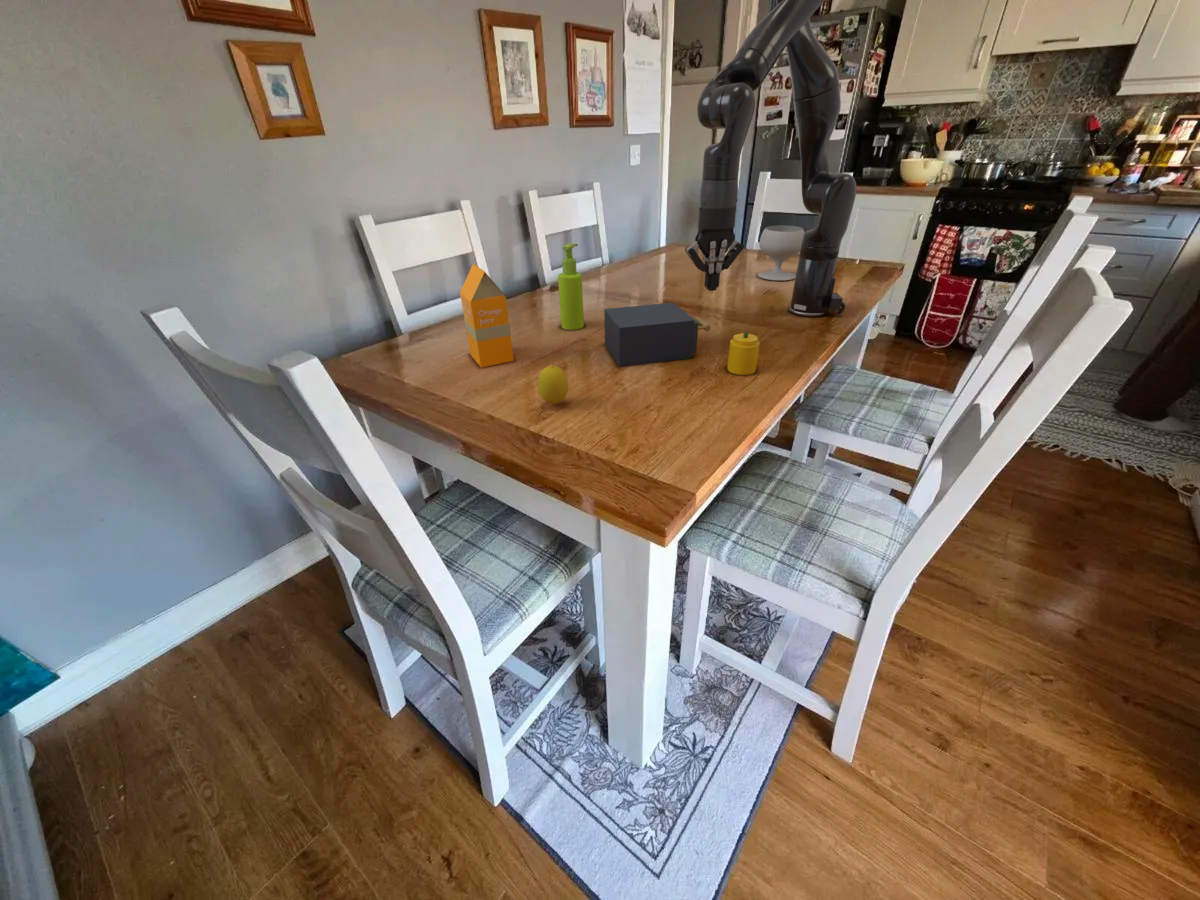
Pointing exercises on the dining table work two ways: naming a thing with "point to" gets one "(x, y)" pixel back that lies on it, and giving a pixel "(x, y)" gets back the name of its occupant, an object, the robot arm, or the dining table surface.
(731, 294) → the dining table surface
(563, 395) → the lemon
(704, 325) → the drawer
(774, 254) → the chalice
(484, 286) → the orange juice
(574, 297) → the soap dispenser
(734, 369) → the yellow cylinder
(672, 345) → the cabinet
